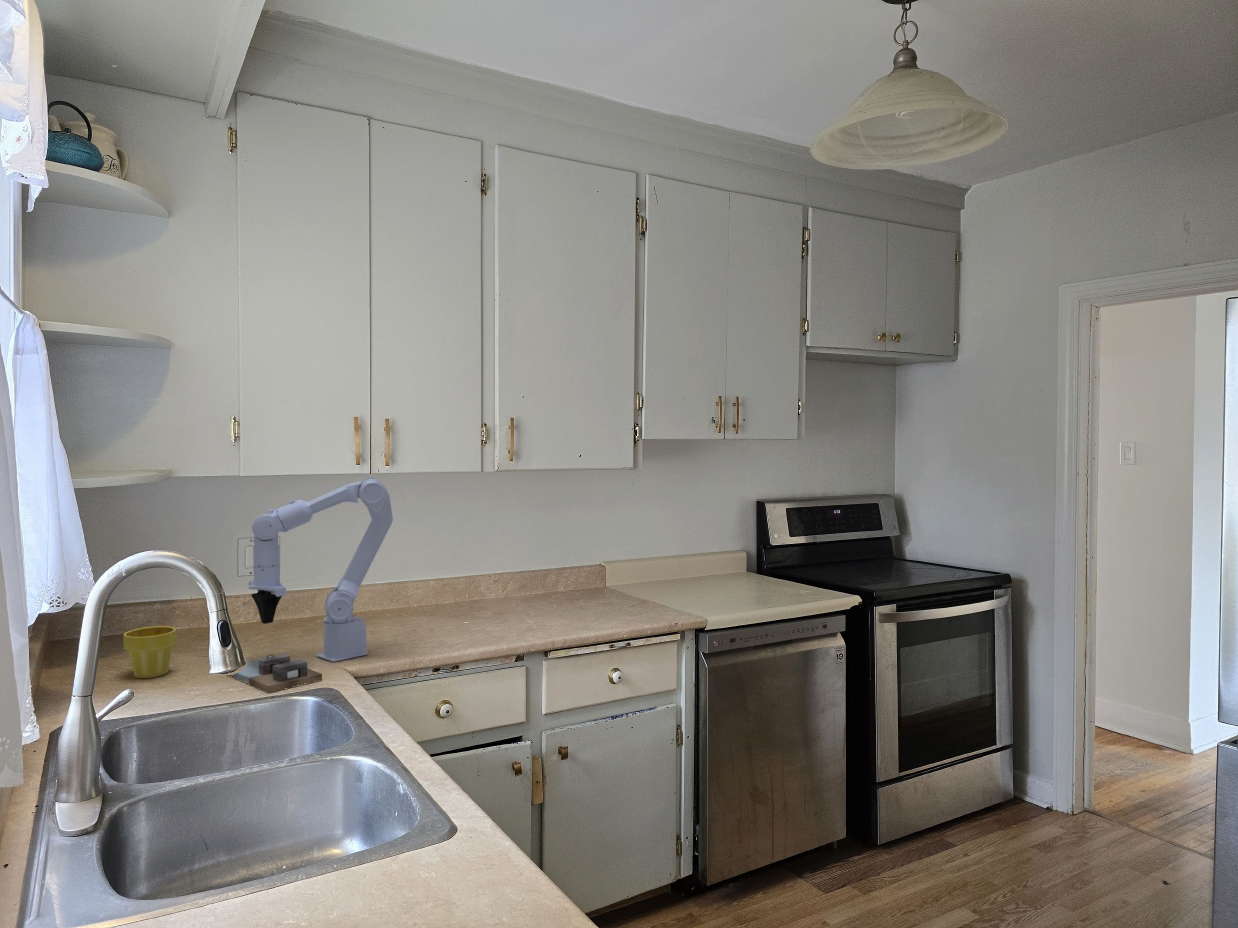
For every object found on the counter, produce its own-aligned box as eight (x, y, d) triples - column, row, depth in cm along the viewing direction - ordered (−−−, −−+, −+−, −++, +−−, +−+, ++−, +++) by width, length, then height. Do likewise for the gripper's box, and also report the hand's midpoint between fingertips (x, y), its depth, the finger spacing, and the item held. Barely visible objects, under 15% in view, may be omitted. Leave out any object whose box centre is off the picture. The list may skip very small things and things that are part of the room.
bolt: (273, 667, 187) (273, 653, 186) (298, 676, 179) (298, 662, 179) (263, 669, 185) (263, 656, 185) (287, 679, 178) (287, 665, 177)
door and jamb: (273, 662, 197) (273, 643, 196) (321, 680, 182) (321, 660, 182) (222, 672, 187) (222, 653, 187) (268, 693, 173) (268, 671, 173)
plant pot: (117, 682, 180) (117, 637, 180) (131, 669, 190) (130, 627, 190) (171, 678, 183) (170, 634, 183) (181, 666, 193) (180, 624, 192)
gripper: (235, 564, 197) (236, 620, 198) (264, 570, 188) (265, 630, 188) (264, 560, 203) (265, 615, 203) (294, 567, 193) (294, 625, 194)
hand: (267, 622), depth 196 cm, fingers closed
